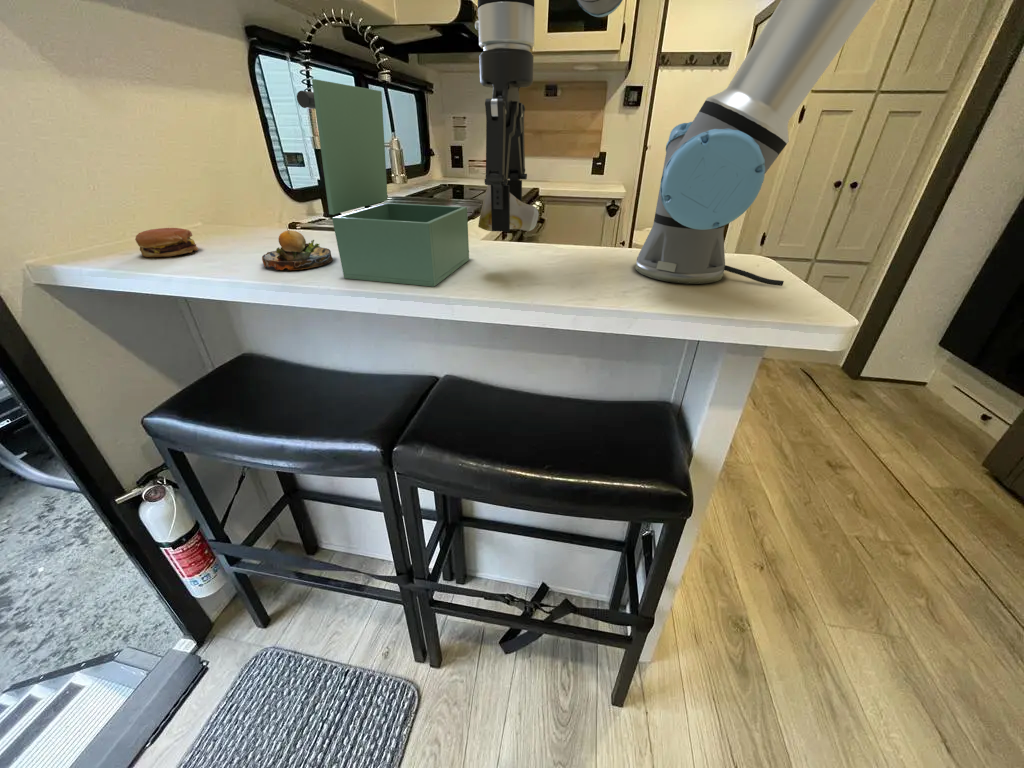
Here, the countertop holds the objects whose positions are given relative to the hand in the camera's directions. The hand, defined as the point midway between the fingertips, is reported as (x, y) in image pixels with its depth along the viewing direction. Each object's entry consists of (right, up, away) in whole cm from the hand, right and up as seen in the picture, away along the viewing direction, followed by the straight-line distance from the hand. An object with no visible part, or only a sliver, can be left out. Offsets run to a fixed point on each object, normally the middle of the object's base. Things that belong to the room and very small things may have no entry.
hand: (507, 225), depth 68 cm
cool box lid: (-25, +12, 0) cm, 28 cm away
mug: (0, -1, +1) cm, 1 cm away
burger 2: (-40, -3, +10) cm, 41 cm away
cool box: (-18, -5, +8) cm, 20 cm away
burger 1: (-68, 0, +15) cm, 70 cm away
